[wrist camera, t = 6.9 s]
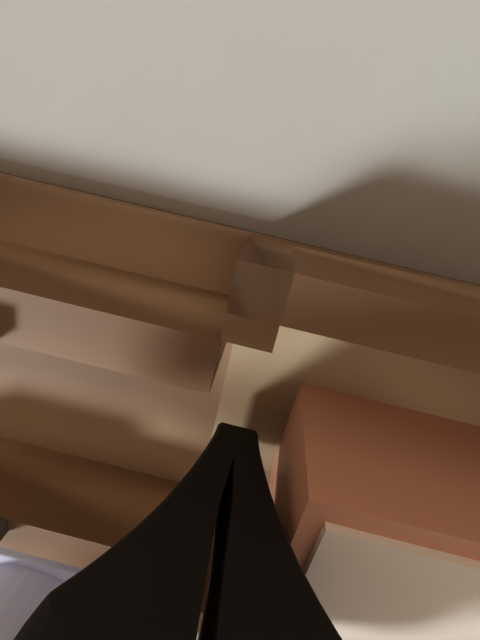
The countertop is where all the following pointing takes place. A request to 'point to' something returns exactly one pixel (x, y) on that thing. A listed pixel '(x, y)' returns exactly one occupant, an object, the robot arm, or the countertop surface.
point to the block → (382, 515)
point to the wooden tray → (187, 354)
